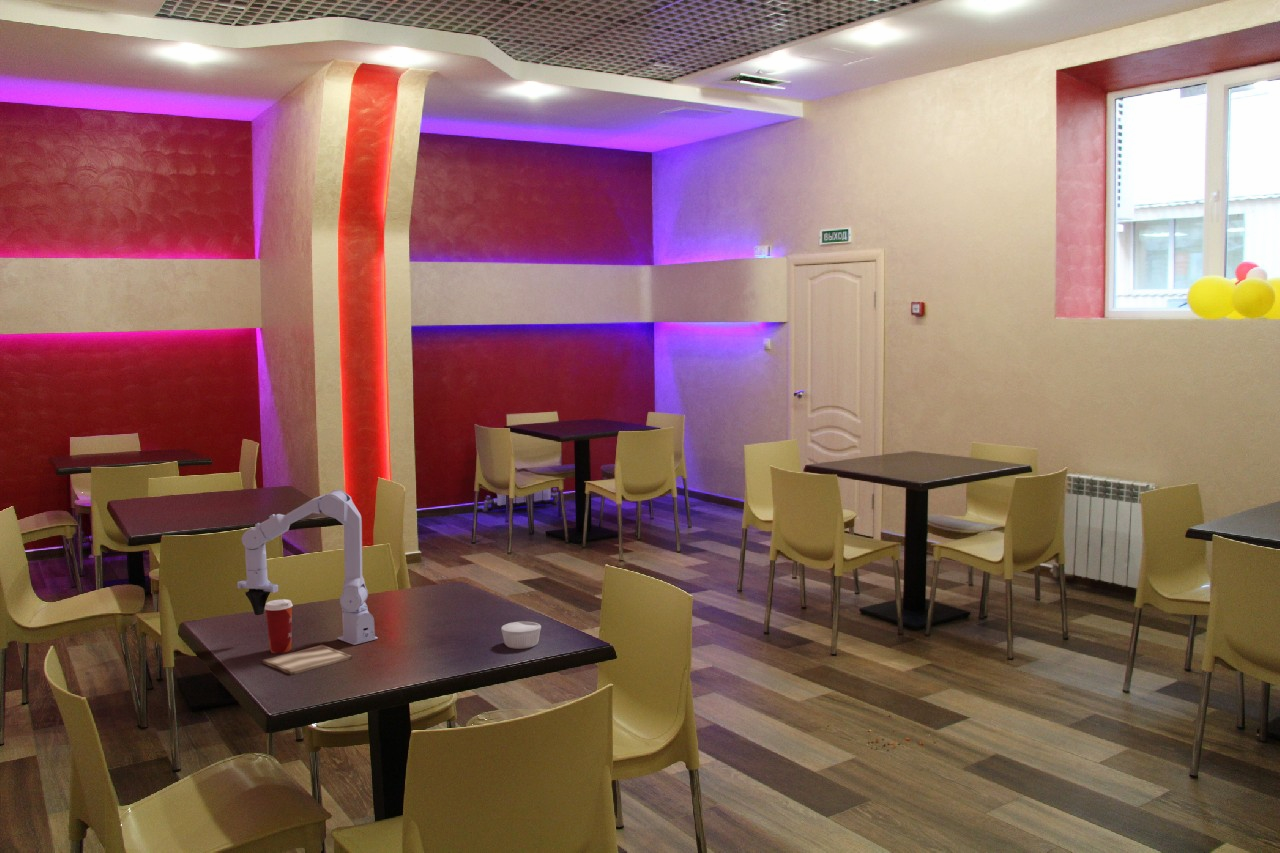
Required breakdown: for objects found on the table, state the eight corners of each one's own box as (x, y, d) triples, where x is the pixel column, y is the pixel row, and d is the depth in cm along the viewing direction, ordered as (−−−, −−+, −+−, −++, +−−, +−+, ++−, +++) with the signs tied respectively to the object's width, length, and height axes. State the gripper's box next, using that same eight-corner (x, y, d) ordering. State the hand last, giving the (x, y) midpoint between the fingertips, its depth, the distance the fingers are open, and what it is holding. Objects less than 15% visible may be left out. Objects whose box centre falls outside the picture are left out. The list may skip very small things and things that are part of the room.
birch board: (352, 658, 289) (351, 655, 289) (291, 675, 276) (291, 671, 276) (322, 647, 300) (322, 644, 300) (262, 662, 287) (262, 659, 287)
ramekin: (547, 639, 303) (546, 622, 303) (533, 651, 292) (532, 632, 292) (511, 637, 306) (510, 620, 306) (495, 649, 295) (495, 630, 295)
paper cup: (300, 649, 299) (297, 601, 297) (275, 656, 293) (272, 607, 292) (286, 644, 304) (283, 597, 303) (261, 651, 298) (258, 602, 297)
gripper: (285, 567, 305) (287, 613, 306) (249, 563, 312) (252, 608, 313) (266, 572, 299) (269, 619, 300) (230, 568, 306) (233, 614, 307)
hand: (259, 614), depth 306 cm, fingers closed
